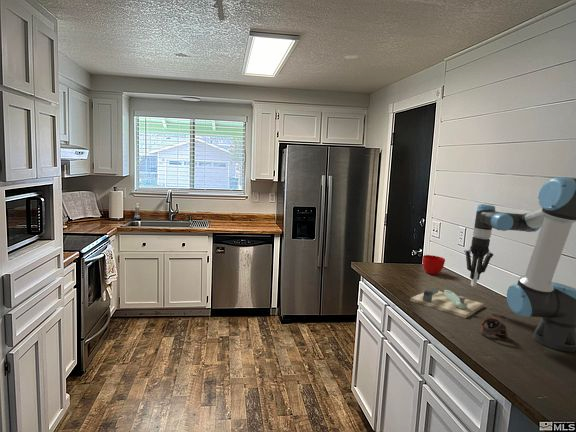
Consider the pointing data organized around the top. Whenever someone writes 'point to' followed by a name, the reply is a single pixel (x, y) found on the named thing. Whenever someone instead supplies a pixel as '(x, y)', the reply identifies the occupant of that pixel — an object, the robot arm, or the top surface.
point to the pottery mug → (493, 327)
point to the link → (455, 299)
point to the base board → (449, 304)
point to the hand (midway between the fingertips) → (473, 285)
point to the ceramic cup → (433, 264)
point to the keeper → (429, 294)
